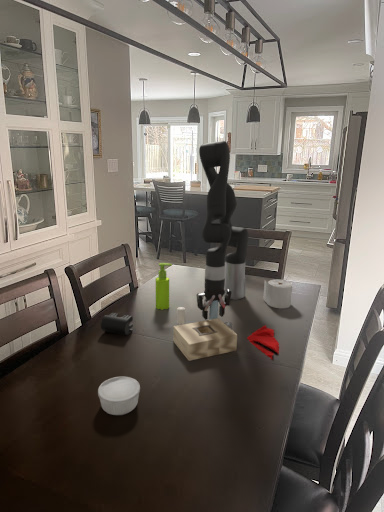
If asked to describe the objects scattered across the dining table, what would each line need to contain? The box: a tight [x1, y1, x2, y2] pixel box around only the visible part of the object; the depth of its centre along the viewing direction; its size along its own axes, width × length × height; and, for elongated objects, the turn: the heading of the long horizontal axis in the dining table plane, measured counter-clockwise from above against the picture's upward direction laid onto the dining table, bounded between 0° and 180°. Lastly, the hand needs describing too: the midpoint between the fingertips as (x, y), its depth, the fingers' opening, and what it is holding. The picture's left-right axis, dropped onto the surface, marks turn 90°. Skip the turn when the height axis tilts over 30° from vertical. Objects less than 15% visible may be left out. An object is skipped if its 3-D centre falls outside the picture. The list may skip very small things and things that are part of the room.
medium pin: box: [176, 306, 186, 326], centre depth 148 cm, size 3×3×8 cm
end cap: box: [100, 312, 134, 336], centre depth 142 cm, size 10×7×7 cm
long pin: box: [208, 300, 219, 320], centre depth 146 cm, size 3×3×12 cm
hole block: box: [172, 317, 238, 362], centre depth 134 cm, size 18×14×6 cm
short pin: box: [223, 321, 233, 330], centre depth 141 cm, size 3×3×5 cm
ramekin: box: [97, 376, 141, 416], centre depth 103 cm, size 11×11×5 cm
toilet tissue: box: [263, 278, 293, 309], centre depth 171 cm, size 11×12×10 cm
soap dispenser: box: [155, 262, 173, 311], centre depth 164 cm, size 6×7×20 cm
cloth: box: [246, 325, 280, 361], centre depth 139 cm, size 26×14×2 cm, turn 163°
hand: (213, 317), depth 146 cm, fingers open, 6 cm apart
